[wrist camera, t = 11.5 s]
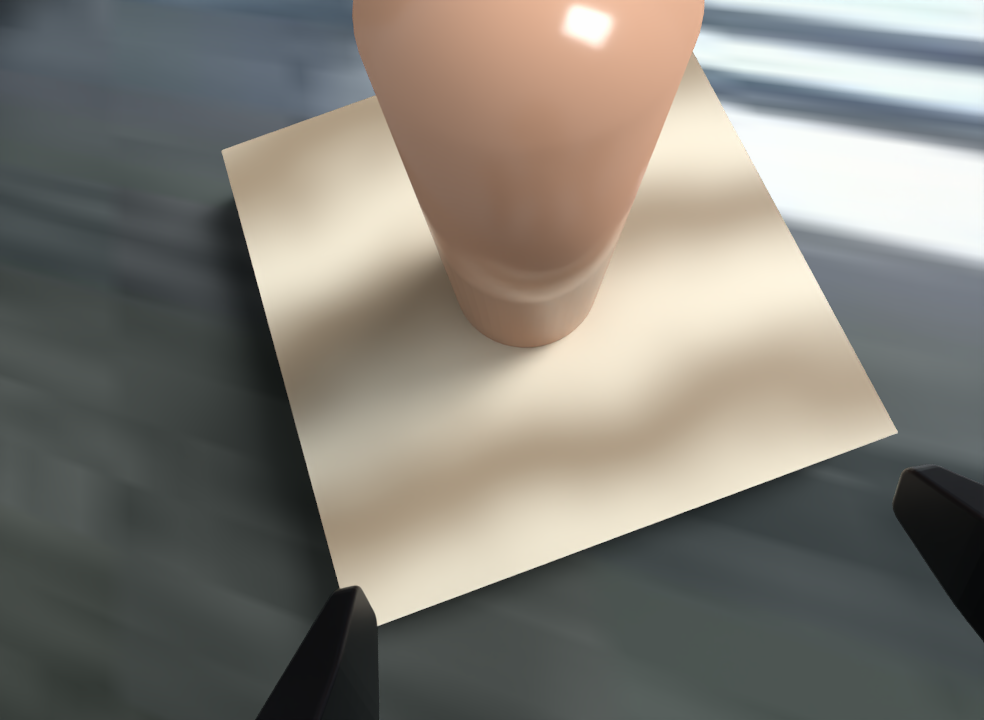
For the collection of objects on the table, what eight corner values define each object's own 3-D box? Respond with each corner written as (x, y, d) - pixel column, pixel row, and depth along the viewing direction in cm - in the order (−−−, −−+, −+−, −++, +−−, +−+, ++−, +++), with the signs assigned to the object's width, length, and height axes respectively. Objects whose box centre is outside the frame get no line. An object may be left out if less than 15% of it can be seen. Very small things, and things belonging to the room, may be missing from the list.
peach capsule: (575, 366, 17) (653, 192, 7) (434, 323, 18) (300, 101, 7) (615, 232, 18) (741, -108, 8) (480, 196, 19) (420, -166, 8)
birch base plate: (850, 438, 19) (898, 432, 16) (375, 614, 19) (352, 635, 16) (646, 44, 23) (661, -7, 20) (254, 185, 23) (221, 150, 20)
